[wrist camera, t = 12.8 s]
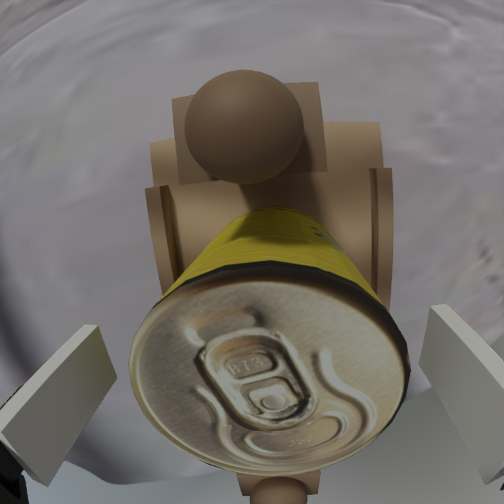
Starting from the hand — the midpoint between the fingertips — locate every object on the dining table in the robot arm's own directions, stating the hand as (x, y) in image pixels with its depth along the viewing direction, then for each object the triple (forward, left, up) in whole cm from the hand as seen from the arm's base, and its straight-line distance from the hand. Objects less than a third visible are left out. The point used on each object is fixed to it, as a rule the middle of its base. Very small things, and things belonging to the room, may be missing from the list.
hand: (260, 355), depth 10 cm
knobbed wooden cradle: (0, 0, -11) cm, 11 cm away
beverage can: (0, 0, -10) cm, 10 cm away
